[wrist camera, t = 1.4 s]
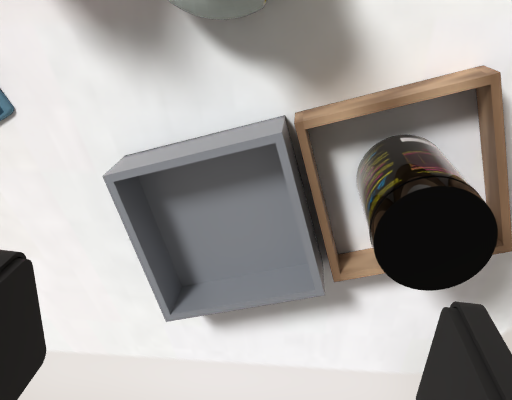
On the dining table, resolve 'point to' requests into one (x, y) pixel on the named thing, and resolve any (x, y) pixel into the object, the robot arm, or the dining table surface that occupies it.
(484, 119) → the frame
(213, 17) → the air freshener
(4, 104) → the smartphone
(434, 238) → the supplement container
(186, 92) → the dining table surface
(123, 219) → the bin
